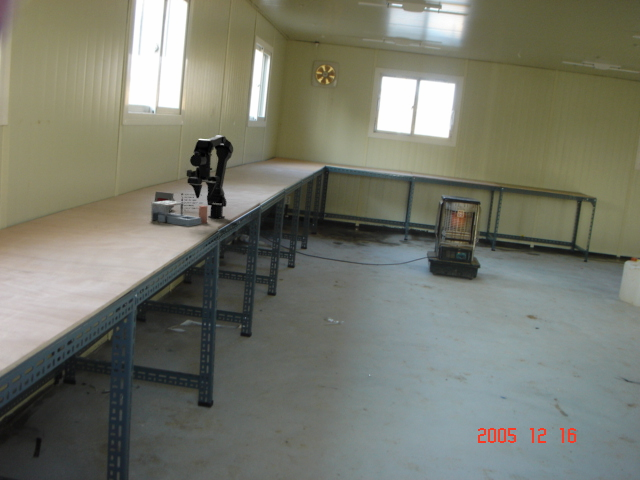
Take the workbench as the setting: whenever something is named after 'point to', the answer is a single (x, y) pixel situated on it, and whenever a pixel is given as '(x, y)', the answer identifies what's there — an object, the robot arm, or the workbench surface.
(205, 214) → the peg
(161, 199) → the voltmeter
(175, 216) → the socket board
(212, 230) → the workbench surface
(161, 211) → the awning
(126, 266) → the workbench surface
